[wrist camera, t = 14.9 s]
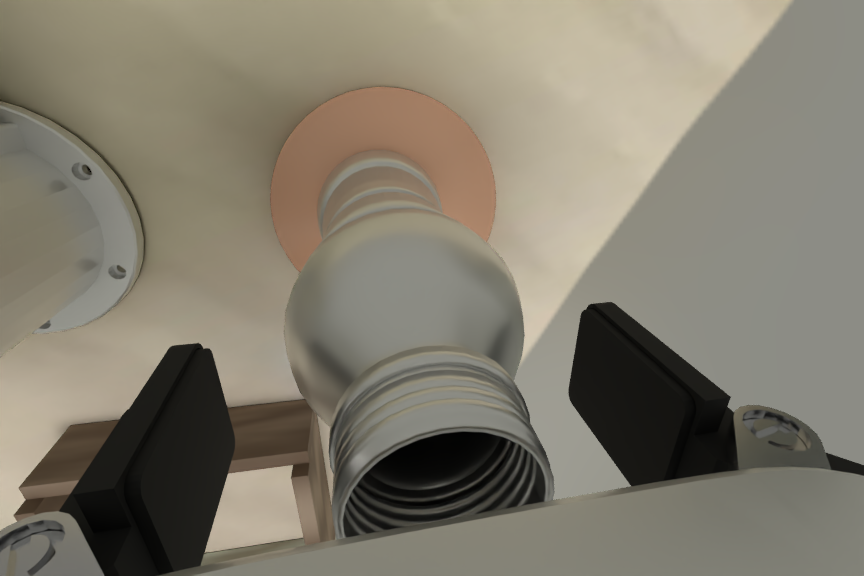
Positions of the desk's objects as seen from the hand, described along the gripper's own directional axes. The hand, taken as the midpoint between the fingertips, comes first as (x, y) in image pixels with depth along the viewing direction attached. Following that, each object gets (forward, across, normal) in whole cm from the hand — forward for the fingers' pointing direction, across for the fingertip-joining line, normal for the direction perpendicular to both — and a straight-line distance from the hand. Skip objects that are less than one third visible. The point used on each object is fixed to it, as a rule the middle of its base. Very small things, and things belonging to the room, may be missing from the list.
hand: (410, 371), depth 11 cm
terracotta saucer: (+17, -1, 0) cm, 17 cm away
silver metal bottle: (+16, 0, 0) cm, 16 cm away
